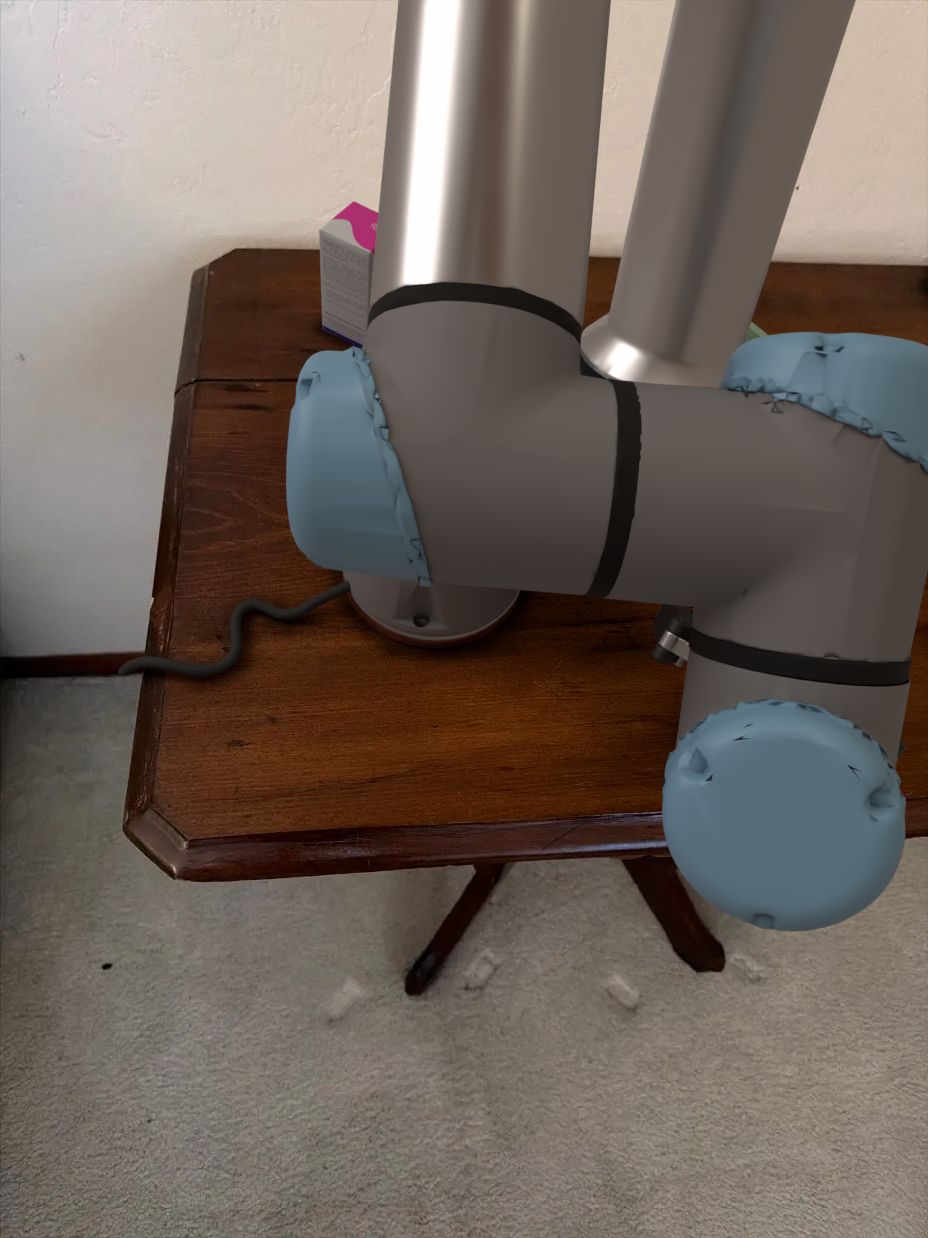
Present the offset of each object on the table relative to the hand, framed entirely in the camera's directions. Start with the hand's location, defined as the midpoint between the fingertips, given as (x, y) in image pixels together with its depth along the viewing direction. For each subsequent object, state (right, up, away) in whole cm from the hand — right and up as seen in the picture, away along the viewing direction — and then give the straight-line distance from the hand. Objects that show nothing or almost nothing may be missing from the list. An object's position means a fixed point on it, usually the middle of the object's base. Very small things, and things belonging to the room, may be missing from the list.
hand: (772, 652), depth 63 cm
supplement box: (-33, +32, +28) cm, 54 cm away
